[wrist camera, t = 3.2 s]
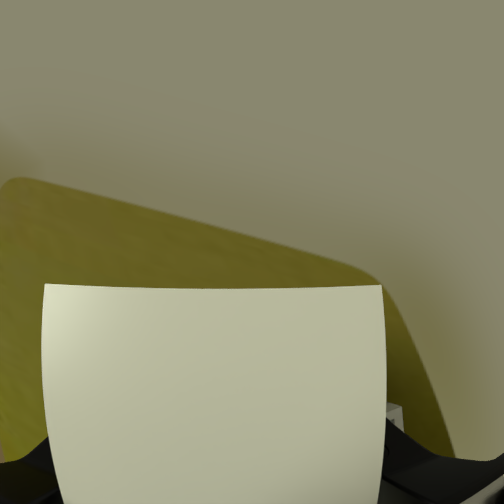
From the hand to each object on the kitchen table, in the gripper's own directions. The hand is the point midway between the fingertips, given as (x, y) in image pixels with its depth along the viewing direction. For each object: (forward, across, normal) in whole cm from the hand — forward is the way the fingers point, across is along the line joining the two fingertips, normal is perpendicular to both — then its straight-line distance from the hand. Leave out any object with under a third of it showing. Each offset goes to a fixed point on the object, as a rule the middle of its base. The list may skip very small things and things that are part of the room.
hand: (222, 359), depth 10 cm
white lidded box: (+4, 0, +6) cm, 7 cm away
